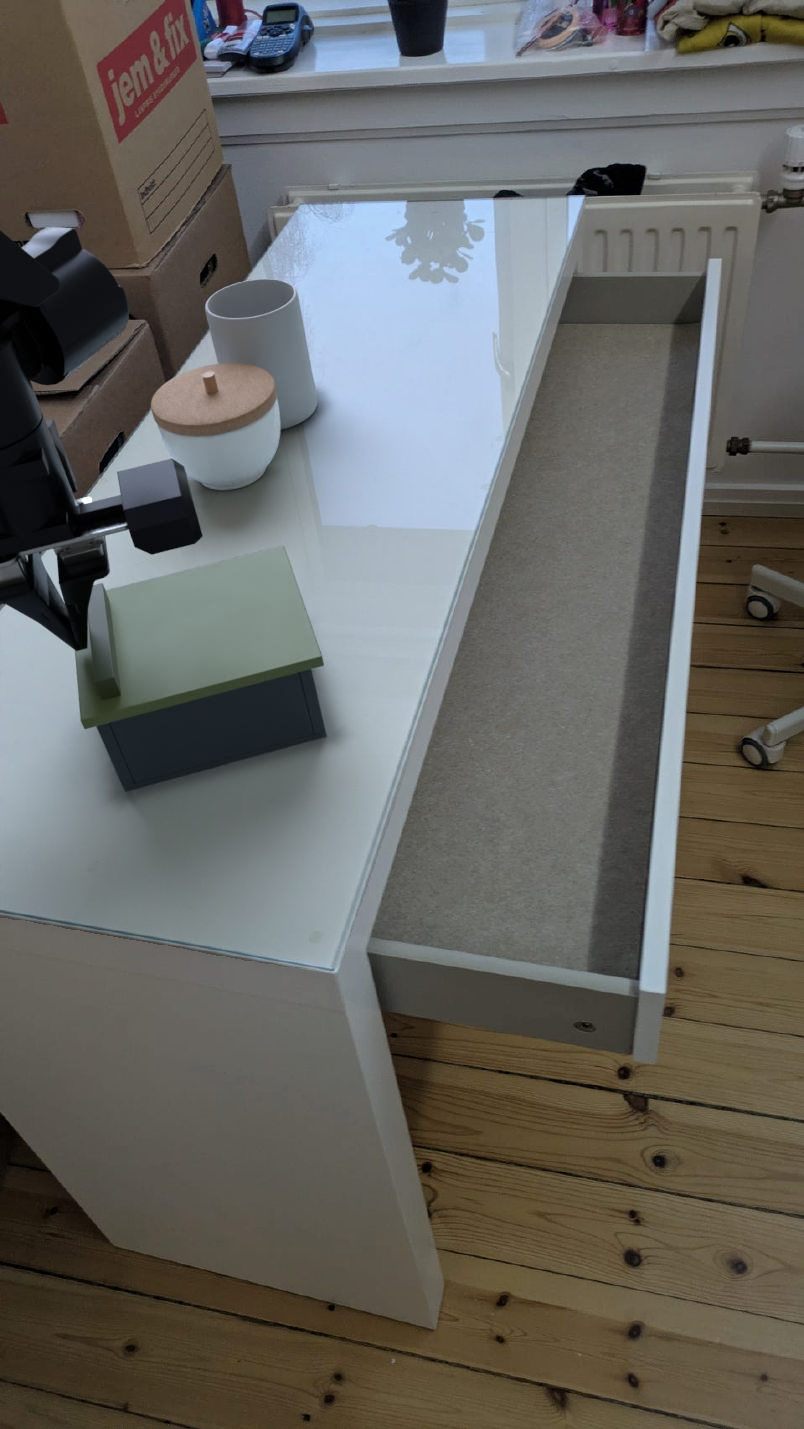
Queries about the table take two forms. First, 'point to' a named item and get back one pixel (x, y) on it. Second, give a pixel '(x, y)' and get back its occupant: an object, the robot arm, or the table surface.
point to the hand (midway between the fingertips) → (81, 645)
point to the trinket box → (220, 423)
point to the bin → (214, 730)
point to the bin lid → (193, 636)
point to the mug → (266, 340)
